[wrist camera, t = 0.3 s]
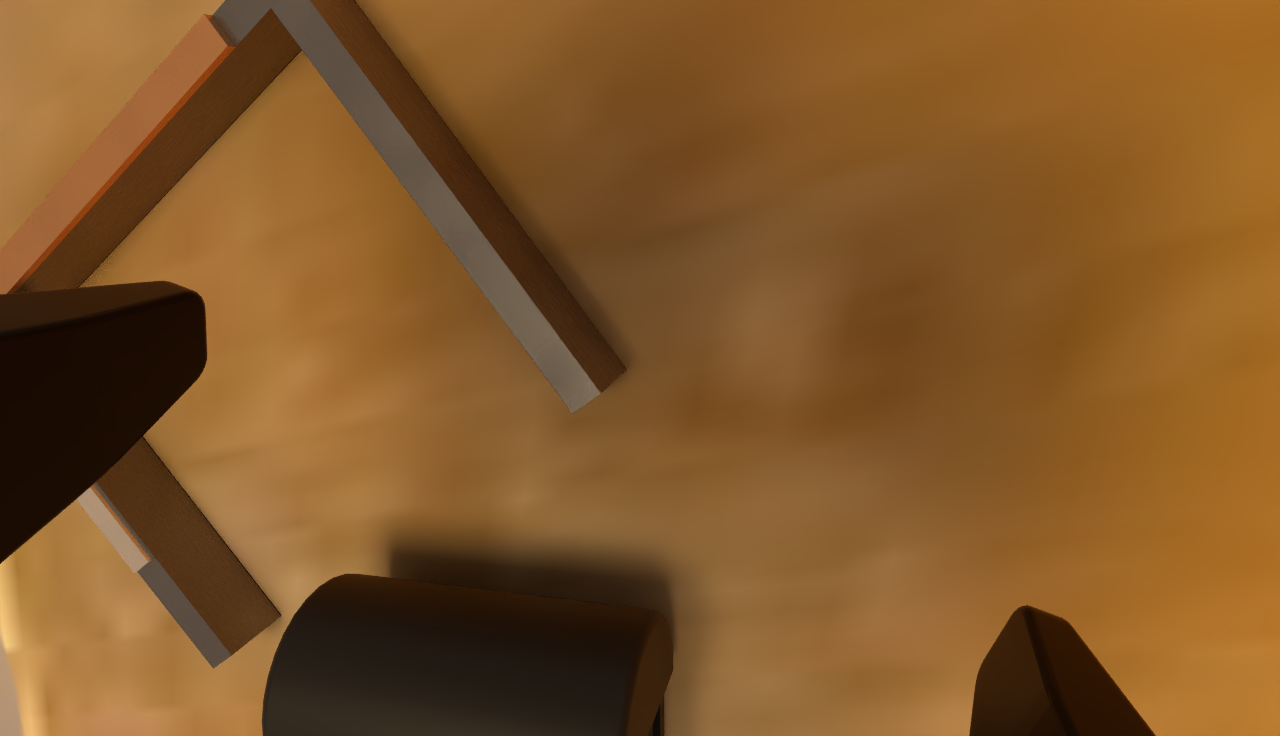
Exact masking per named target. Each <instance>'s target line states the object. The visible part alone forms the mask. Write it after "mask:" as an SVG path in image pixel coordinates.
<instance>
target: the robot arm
mask: <svg viewBox="0 0 1280 736" xmlns="http://www.w3.org/2000/svg"><path fill="white" fill-rule="evenodd" d="M206 361H207V338H206V313H205V303H204V301H203V299H202V297H201V296H200V295H199V294H198V293H197V292H195V291H193V290H190V289H187V288H185V287H182V286H179V285H177V284H174V283H171V282H167V281H153V282H141V283H129V284H117V285H105V286H93V287H81V288H70V289H58V290H46V291H34V292H22V293H10V294H0V564H1V563H2V562H3V561H4V560H5V559H7V558H8V557H9V556H10V555H11V554H12V553H14V552H15V551H16V550H17V549H18V548H19V547H21V546H22V545H23V544H24V543H25V542H27V541H28V540H29V539H30V538H31V537H32V536H34V535H35V534H36V533H37V532H38V531H39V530H41V529H42V528H43V527H44V526H45V525H47V524H48V523H49V522H50V521H51V520H52V519H54V518H55V517H56V516H57V515H58V514H59V513H61V512H62V511H63V510H64V509H65V508H67V507H68V506H69V505H70V504H71V503H72V502H74V501H75V500H76V499H77V498H78V497H79V496H81V495H82V494H83V493H84V492H85V491H86V490H88V489H89V488H90V487H91V486H92V485H93V484H94V483H96V482H97V481H98V480H99V479H100V478H101V477H102V476H103V475H105V474H106V473H107V472H108V471H109V470H110V469H111V468H112V467H113V466H114V465H115V464H116V463H117V462H118V461H119V460H120V459H121V458H122V457H123V456H124V455H125V454H126V453H127V452H128V451H129V450H130V449H131V448H132V447H133V446H134V444H135V443H136V442H137V441H138V440H139V439H140V438H141V437H142V436H143V435H144V434H145V433H146V432H147V431H148V430H149V429H150V428H151V427H152V426H153V425H154V424H155V423H156V422H157V421H158V420H159V419H160V418H161V417H162V416H163V414H164V413H165V412H166V411H167V410H168V409H169V408H170V407H171V406H172V405H173V404H174V403H175V402H176V401H177V400H178V399H179V398H180V397H181V396H182V395H183V394H184V393H185V392H186V391H187V390H188V389H189V388H190V387H191V386H192V384H193V383H194V382H195V381H196V380H197V379H198V378H199V377H200V375H201V373H202V372H203V370H204V367H205V365H206ZM969 736H1156V735H1155V734H1154V733H1153V731H1152V730H1151V729H1150V727H1149V726H1148V725H1147V724H1146V722H1145V721H1144V720H1143V718H1142V717H1141V716H1140V714H1139V713H1138V712H1137V710H1136V709H1135V708H1134V707H1133V705H1132V704H1131V703H1130V701H1129V700H1128V699H1127V697H1126V696H1125V695H1124V694H1123V692H1122V691H1121V690H1120V688H1119V687H1118V686H1117V684H1116V683H1115V682H1114V680H1113V679H1112V678H1111V677H1110V675H1109V674H1108V673H1107V671H1106V670H1105V669H1104V667H1103V666H1102V665H1101V663H1100V662H1099V661H1098V660H1097V658H1096V657H1095V656H1094V654H1093V653H1092V652H1091V650H1090V649H1089V648H1088V647H1087V645H1086V644H1085V643H1084V641H1083V640H1082V639H1081V637H1080V636H1079V635H1078V633H1077V632H1076V631H1075V630H1074V628H1073V627H1072V626H1071V625H1070V624H1069V622H1068V621H1066V620H1065V619H1063V618H1061V617H1058V616H1055V615H1053V614H1050V613H1047V612H1045V611H1042V610H1039V609H1037V608H1034V607H1031V606H1028V605H1026V606H1022V607H1019V608H1018V609H1017V610H1016V611H1015V612H1014V613H1013V614H1012V615H1011V617H1010V619H1009V620H1008V622H1007V623H1006V625H1005V627H1004V628H1003V630H1002V631H1001V633H1000V635H999V636H998V638H997V639H996V641H995V643H994V644H993V646H992V647H991V649H990V651H989V652H988V654H987V655H986V657H985V659H984V660H983V662H982V664H981V667H980V669H979V672H978V675H977V679H976V684H975V692H974V700H973V709H972V718H971V726H970V735H969Z"/></svg>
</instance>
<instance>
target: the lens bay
mask: <svg viewBox="0 0 1280 736" xmlns="http://www.w3.org/2000/svg"><path fill="white" fill-rule="evenodd" d="M301 49H302V50H303V52H304V53H305V54H306V56H307V57H308V58H309V60H310V61H311V62H312V64H313V65H314V66H315V68H316V69H317V71H318V72H319V73H320V75H321V76H322V77H323V79H324V80H325V81H326V83H327V84H328V85H329V87H330V88H331V89H332V91H333V92H334V93H335V95H336V96H337V97H338V99H339V100H340V101H341V103H342V104H343V105H344V107H345V108H346V110H347V111H348V112H349V114H350V115H351V116H352V118H353V119H354V120H355V122H356V123H357V124H358V126H359V127H360V128H361V130H362V131H363V132H364V134H365V135H366V136H367V138H368V139H369V140H370V142H371V143H372V144H373V146H374V147H375V149H376V150H377V151H378V153H379V154H380V155H381V157H382V158H383V159H384V161H385V162H386V163H387V165H388V166H389V167H390V169H391V170H392V171H393V173H394V174H395V175H396V177H397V178H398V179H399V181H400V182H401V183H402V185H403V186H404V188H405V189H406V190H407V192H408V193H409V194H410V196H411V197H412V198H413V200H414V201H415V202H416V204H417V205H418V206H419V208H420V209H421V210H422V212H423V213H424V214H425V216H426V217H427V218H428V220H429V221H430V222H431V224H432V225H433V227H434V228H435V229H436V231H437V232H438V233H439V235H440V236H441V237H442V239H443V240H444V241H445V243H446V244H447V245H448V247H449V248H450V249H451V251H452V252H453V253H454V255H455V256H456V257H457V259H458V260H459V261H460V263H461V264H462V266H463V267H464V268H465V270H466V271H467V272H468V274H469V275H470V276H471V278H472V279H473V280H474V282H475V283H476V284H477V286H478V287H479V288H480V290H481V291H482V292H483V294H484V295H485V296H486V298H487V299H488V300H489V302H490V303H491V305H492V306H493V307H494V309H495V310H496V311H497V313H498V314H499V315H500V317H501V318H502V319H503V321H504V322H505V323H506V325H507V326H508V327H509V329H510V330H511V331H512V333H513V334H514V335H515V337H516V338H517V339H518V341H519V342H520V344H521V345H522V346H523V348H524V349H525V350H526V352H527V353H528V354H529V356H530V357H531V358H532V360H533V361H534V362H535V364H536V365H537V366H538V368H539V369H540V370H541V372H542V373H543V374H544V376H545V377H546V378H547V380H548V381H549V383H550V384H551V385H552V387H553V388H554V389H555V391H556V392H557V393H558V395H559V396H560V397H561V399H562V400H563V401H564V403H565V404H566V405H567V407H568V408H569V409H570V411H571V412H572V413H574V412H575V411H577V410H578V409H580V408H581V407H583V406H584V405H585V404H587V403H588V402H590V401H591V400H592V399H594V398H595V397H597V396H598V395H599V394H601V393H602V392H603V391H604V390H605V389H606V388H607V387H608V386H610V385H611V384H612V383H613V382H614V381H615V380H616V379H617V378H618V377H619V376H620V375H622V374H623V373H624V372H625V371H626V368H625V367H624V366H623V364H622V363H621V362H620V360H619V359H618V358H617V356H616V355H615V353H614V352H613V351H612V349H611V348H610V347H609V345H608V344H607V343H606V341H605V340H604V339H603V337H602V336H601V334H600V333H599V332H598V330H597V329H596V328H595V326H594V325H593V324H592V322H591V321H590V320H589V318H588V317H587V315H586V314H585V313H584V311H583V310H582V309H581V307H580V306H579V305H578V303H577V302H576V301H575V299H574V298H573V296H572V295H571V294H570V292H569V291H568V290H567V288H566V287H565V286H564V284H563V283H562V282H561V280H560V279H559V278H558V276H557V275H556V273H555V272H554V271H553V269H552V268H551V267H550V265H549V264H548V263H547V261H546V260H545V259H544V257H543V256H542V254H541V253H540V252H539V250H538V249H537V248H536V246H535V245H534V244H533V242H532V241H531V240H530V238H529V237H528V235H527V234H526V233H525V231H524V230H523V229H522V227H521V226H520V225H519V223H518V222H517V221H516V219H515V218H514V216H513V215H512V214H511V212H510V211H509V210H508V208H507V207H506V206H505V204H504V203H503V202H502V200H501V199H500V197H499V196H498V195H497V193H496V192H495V191H494V189H493V188H492V187H491V185H490V184H489V183H488V181H487V180H486V179H485V177H484V176H483V174H482V173H481V172H480V170H479V169H478V168H477V166H476V165H475V164H474V162H473V161H472V160H471V158H470V157H469V155H468V154H467V153H466V151H465V150H464V149H463V147H462V146H461V145H460V143H459V142H458V141H457V139H456V138H455V136H454V135H453V134H452V132H451V131H450V130H449V128H448V127H447V126H446V124H445V123H444V122H443V120H442V119H441V117H440V116H439V115H438V113H437V112H436V111H435V109H434V108H433V107H432V105H431V104H430V103H429V101H428V100H427V99H426V97H425V96H424V94H423V93H422V92H421V90H420V89H419V88H418V86H417V85H416V84H415V82H414V81H413V80H412V78H411V77H410V75H409V74H408V73H407V71H406V70H405V69H404V67H403V66H402V65H401V63H400V62H399V61H398V59H397V58H396V56H395V55H394V54H393V52H392V51H391V50H390V48H389V47H388V46H387V44H386V43H385V42H384V40H383V39H382V37H381V36H380V35H379V33H378V32H377V31H376V29H375V28H374V27H373V25H372V24H371V23H370V21H369V20H368V18H367V17H366V16H365V14H364V13H363V12H362V10H361V9H360V8H359V6H358V5H357V4H356V2H355V1H354V0H225V1H224V3H223V4H222V5H221V6H220V7H219V8H218V10H217V11H216V12H215V13H214V14H213V15H212V16H211V15H206V14H204V15H203V16H202V17H201V18H200V19H199V20H198V22H197V23H196V24H195V25H194V26H193V27H192V28H191V30H190V31H189V32H188V33H187V34H186V35H185V37H184V38H183V39H182V40H181V41H180V42H179V44H178V45H177V46H176V47H175V48H174V49H173V51H172V52H171V53H170V54H169V55H168V56H167V57H166V59H165V60H164V61H163V62H162V63H161V64H160V66H159V67H158V68H157V69H156V70H155V71H154V73H153V74H152V75H151V76H150V77H149V78H148V80H147V81H146V82H145V83H144V84H143V85H142V86H141V88H140V89H139V90H138V91H137V92H136V93H135V95H134V96H133V97H132V98H131V99H130V100H129V102H128V103H127V104H126V105H125V106H124V107H123V109H122V110H121V111H120V112H119V113H118V114H117V115H116V117H115V118H114V119H113V120H112V121H111V122H110V124H109V125H108V126H107V127H106V128H105V129H104V131H103V132H102V133H101V134H100V135H99V136H98V138H97V139H96V140H95V141H94V142H93V143H92V145H91V146H90V147H89V148H88V149H87V150H86V151H85V153H84V154H83V155H82V156H81V157H80V158H79V160H78V161H77V162H76V163H75V164H74V165H73V167H72V168H71V169H70V170H69V171H68V172H67V174H66V175H65V176H64V177H63V178H62V179H61V180H60V182H59V183H58V184H57V185H56V186H55V187H54V189H53V190H52V191H51V192H50V193H49V194H48V196H47V197H46V198H45V199H44V200H43V201H42V203H41V204H40V205H39V206H38V207H37V208H36V209H35V211H34V212H33V213H32V214H31V215H30V216H29V218H28V219H27V220H26V221H25V222H24V223H23V225H22V226H21V227H20V228H19V229H18V230H17V232H16V233H15V234H14V235H13V236H12V237H11V239H10V240H9V241H8V242H7V243H6V244H5V245H4V247H3V248H2V249H1V250H0V294H10V293H22V292H34V291H46V290H58V289H70V288H78V287H79V286H80V285H81V284H82V283H83V282H84V281H85V279H86V278H87V277H88V276H89V275H90V274H91V273H92V272H93V271H94V270H95V269H96V268H97V267H98V266H99V265H100V264H101V262H102V261H103V260H104V259H105V258H106V257H107V256H108V255H109V254H110V253H111V252H112V251H113V250H114V249H115V248H116V246H117V245H118V244H119V243H120V242H121V241H122V240H123V239H124V238H125V237H126V236H127V235H128V234H129V233H130V232H131V230H132V229H133V228H134V227H135V226H136V225H137V224H138V223H139V222H140V221H141V220H142V219H143V218H144V217H145V216H146V214H147V213H148V212H149V211H150V210H151V209H152V208H153V207H154V206H155V205H156V204H157V203H158V202H159V201H160V200H161V199H162V197H163V196H164V195H165V194H166V193H167V192H168V191H169V190H170V189H171V188H172V187H173V186H174V185H175V184H176V183H177V181H178V180H179V179H180V178H181V177H182V176H183V175H184V174H185V173H186V172H187V171H188V170H189V169H190V168H191V167H192V165H193V164H194V163H195V162H196V161H197V160H198V159H199V158H200V157H201V156H202V155H203V154H204V153H205V152H206V151H207V150H208V148H209V147H210V146H211V145H212V144H213V143H214V142H215V141H216V140H217V139H218V138H219V137H220V136H221V135H222V134H223V132H224V131H225V130H226V129H227V128H228V127H229V126H230V125H231V124H232V123H233V122H234V121H235V120H236V119H237V118H238V116H239V115H240V114H241V113H242V112H243V111H244V110H245V109H246V108H247V107H248V106H249V105H250V104H251V103H252V102H253V100H254V99H255V98H256V97H257V96H258V95H259V94H260V93H261V92H262V91H263V90H264V89H265V88H266V87H267V86H268V85H269V83H270V82H271V81H272V80H273V79H274V78H275V77H276V76H277V75H278V74H279V73H280V72H281V71H282V70H283V69H284V67H285V66H286V65H287V64H288V63H289V62H290V61H291V60H292V59H293V58H294V57H295V56H296V55H297V54H298V53H299V51H300V50H301ZM77 501H78V502H79V503H80V505H81V506H82V507H83V508H84V510H85V511H86V512H87V513H88V515H89V516H90V517H91V519H92V520H93V521H94V522H95V524H96V525H97V526H98V528H99V529H100V530H101V531H102V533H103V534H104V535H105V536H106V538H107V539H108V540H109V542H110V543H111V544H112V545H113V547H114V548H115V549H116V550H117V552H118V553H119V554H120V556H121V557H122V558H123V559H124V561H125V562H126V563H127V564H128V566H129V567H130V568H131V570H132V571H133V572H134V573H136V572H138V573H139V574H140V576H141V577H142V578H143V579H144V581H145V582H146V583H147V585H148V586H149V587H150V588H151V590H152V591H153V592H154V593H155V595H156V596H157V597H158V599H159V600H160V601H161V602H162V604H163V605H164V606H165V607H166V609H167V610H168V611H169V613H170V614H171V615H172V616H173V618H174V619H175V620H176V622H177V623H178V624H179V625H180V627H181V628H182V629H183V630H184V632H185V633H186V634H187V636H188V637H189V638H190V639H191V641H192V642H193V643H194V644H195V646H196V647H197V648H198V650H199V651H200V652H201V653H202V655H203V656H204V657H205V659H206V660H207V661H208V662H209V664H210V665H211V666H212V667H213V668H215V667H216V666H217V665H219V664H220V663H222V662H223V661H225V660H226V659H227V658H229V657H230V656H232V655H233V654H234V653H235V652H237V651H238V650H239V649H240V648H242V647H243V646H244V645H245V644H247V643H248V642H249V641H250V640H252V639H253V638H254V637H255V636H257V635H258V634H259V633H260V632H262V631H263V630H264V629H265V628H267V627H268V626H269V625H270V624H272V623H273V622H274V621H275V620H277V619H278V618H279V617H280V616H281V615H280V614H279V613H278V612H277V610H276V609H275V608H274V606H273V605H272V604H271V602H270V601H269V600H268V599H267V597H266V596H265V595H264V593H263V592H262V591H261V590H260V588H259V587H258V586H257V584H256V583H255V582H254V581H253V579H252V578H251V577H250V575H249V574H248V573H247V572H246V570H245V569H244V568H243V566H242V565H241V564H240V563H239V561H238V560H237V559H236V557H235V556H234V555H233V553H232V552H231V551H230V550H229V548H228V547H227V546H226V544H225V543H224V542H223V541H222V539H221V538H220V537H219V535H218V534H217V533H216V532H215V530H214V529H213V528H212V526H211V525H210V524H209V523H208V521H207V520H206V519H205V517H204V516H203V515H202V514H201V512H200V511H199V510H198V508H197V507H196V506H195V505H194V503H193V502H192V501H191V499H190V498H189V497H188V495H187V494H186V493H185V492H184V490H183V489H182V488H181V486H180V485H179V484H178V483H177V481H176V480H175V479H174V477H173V476H172V475H171V474H170V472H169V471H168V470H167V468H166V467H165V466H164V465H163V463H162V462H161V461H160V459H159V458H158V457H157V456H156V454H155V453H154V452H153V450H152V449H151V448H150V447H149V445H148V444H147V443H146V441H145V440H144V439H143V437H141V438H140V439H139V440H138V441H137V442H136V443H135V444H134V446H133V447H132V448H131V449H130V450H129V451H128V452H127V453H126V454H125V455H124V456H123V457H122V458H121V459H120V460H119V461H118V462H117V463H116V464H115V465H114V466H113V467H112V468H111V469H110V470H109V471H108V472H107V473H106V474H105V475H103V476H102V477H101V478H100V479H99V480H98V481H97V482H96V483H94V484H93V485H92V486H91V487H90V488H89V489H88V490H86V491H85V492H84V493H83V494H82V495H81V496H79V497H78V498H77Z"/></svg>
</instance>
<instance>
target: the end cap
mask: <svg viewBox="0 0 1280 736" xmlns="http://www.w3.org/2000/svg"><path fill="white" fill-rule="evenodd" d="M672 671H673V651H672V641H671V635H670V631H669V627H668V624H667V622H666V619H665V618H664V617H663V616H662V615H661V614H660V613H659V612H658V611H656V610H650V609H642V608H634V607H625V606H617V605H609V604H601V603H593V602H584V601H576V600H568V599H560V598H551V597H543V596H535V595H527V594H519V593H510V592H502V591H494V590H486V589H477V588H469V587H461V586H453V585H445V584H436V583H428V582H420V581H412V580H403V579H395V578H387V577H379V576H371V575H362V574H344V575H341V576H338V577H334V578H332V579H330V580H329V581H327V582H326V583H324V584H323V585H321V586H319V587H318V588H317V589H316V590H315V591H314V592H313V593H312V594H311V595H310V596H309V597H308V598H307V599H306V600H305V602H304V603H303V604H302V606H301V607H300V608H299V609H298V611H297V612H296V613H295V615H294V616H293V618H292V620H291V622H290V623H289V625H288V627H287V629H286V630H285V632H284V634H283V636H282V639H281V641H280V643H279V646H278V648H277V650H276V653H275V655H274V658H273V662H272V665H271V668H270V671H269V675H268V679H267V684H266V689H265V694H264V700H263V714H262V730H263V736H664V692H665V690H666V687H667V684H668V682H669V679H670V676H671V674H672Z"/></svg>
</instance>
